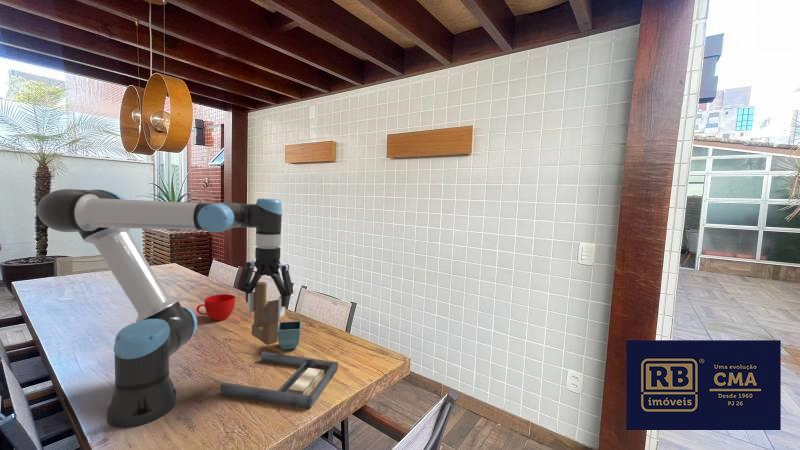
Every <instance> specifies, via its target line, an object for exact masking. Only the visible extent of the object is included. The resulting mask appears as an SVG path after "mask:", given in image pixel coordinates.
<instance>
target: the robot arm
mask: <svg viewBox="0 0 800 450" xmlns="http://www.w3.org/2000/svg"><path fill="white" fill-rule="evenodd" d="M282 208H283V207H282V201H281V200H280V199H279V198H278V199H277V198H276V199H275V198H262V197H261V198H257V199H256V202H255V203H251V204H250V203H239V202H237V203H236V202H230V201H229V202H217V203H210V202H209V203H208V202H206V203H205V202H204V203H203V202H190V201H189V202H187V201H186V202H185V201H164V200H163V201H162V200H141V199H139V200H138V199H137V200H136V199H125V198H124V197H123V196H122V195H120V194H118V193H115V192H113V191H109V190H103V189H72V188H65V189H62V188H61V189H57V190H54V191H51V192H49V193H47V194H45V195H44V196H43V197H42V198H41V199H40V200H39V202H38V204H37V207H36V210H37V211H36V213H37V216H38V218H39V220H40V221H41V222H42V224H43V225H45V226H46V227H47V228H49V229H52V230H54V231H57V232H63V233H77V232H78V234H79V235H80V236H81V239H82V240H83V241H84V243H85V242H86V243H89V244H93V245H94V246H95V248H96V249H97V251H98V253H99V254H100V255H101V257H102V259H103V260H104V262H105V263H106V265H107V267H108V268H109V270H110V271H111V274H112V275H113V276H114V278H115V279H116V281H117V282H118V284H119V286H120V287H121V289H122V290H123V292H124V294H125V295H126V297H127V298H128V300H129V301H130V303H131V305H132V306H133V308H134V309H135V311H136V312H137V317H136V319H135V322H132V323H130V324H128V325H126V326H124V327H122V328H121V329H120V330H119V331H118V333H117V334H116V336H115V338H114V346H113V352H114V386H115V387H114V391H113V394H112V396H111V401H110V404H109V405H108V407H107V409H106V422H107V424H108V425H110V426H111V427H114V428H130V427H136V426H141V425H144V424H147V423H149V422H152V421H155V420H157V419H159V418H161V417H162V416H164V415H166V414H168V413H169V412H170V411H171V410H172V409H173V408H174V407H175V405H176V404H177V397H178V396H177V395H178V394H177V390H176V388H175V387H174V386H175V385H174V383H173V381H172V379H171V377H170V357H171V356H172V355H174V353H176V352H177V351H178V350H179V349H180V348H181V347H183V346H184V345H185V344H186V343H187V344H188V342H189V341H190V340H191V338H192V337H193V336H194V334H195V333H196V331H197V327H198V319H197V316H196V314H195V313H194V311H193V310H192V309H190V308H189V307H185V306H182V305H181V303H180V302H179V300H177V299H175V298H171V297H169V295H168V294H167V292H166V290H165V289H164V287H163V285H162V283H161V281H160V280H159V278H158V277H157V275H156V274H155V272H154V270H153V269H152V267H151V265H150V264H149V262H148V261H147V259H146V258H145V255H144V254H143V252H142V251H141V249H140V248H139V246H138V244H137V243H136V241H135V239H134V237H133V236H132V234H131V232H130V229H140V230H141V229H146V230H147V229H148V230H149V229H151V230H180V231H181V230H184V231H185V230H187V231H190V230H191V231H207V232H208V233H222V232H225V231H227V230H233V229H235V228H249V229H250V228H251V229H254V228H255V243H254V244H255V248H254V249H255V250H254V253H255V254H254V258H255V261H254V260H251V261H246V263H245V271H244V275H243V278H242V282H241V285H240V288H239V289H240V291H241V292H245V303H247V314H248V315H249V314H252V313H254V303H255V284H256V283H258V282H260V280H261V278H262V276H267V277H270V278H271V279H272V281H273V282H274V284H275V286H276V289H277V291H278V292H279V295H280V296H279V297H278V300H279V306H278V318H282V317H283V316H285V314H286V313H285V311H286V307H287V305H288V297H289V296H292V295H293V294H294V293H295V292H294V288H293V284H292V280H291V275H290V272H289V271H290V265H289V264H288V263H287V264H281V261H280V260H281V248H280V247H281V242H282V241H281V240H282V219H283V218H282V215H283V211H282ZM255 268H256V271H255V273H254V270H255ZM279 269H280V270H279ZM280 272H281V274H280ZM253 273H254V276H253ZM252 276H253V277H252Z"/></svg>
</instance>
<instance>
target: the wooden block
mask: <svg viewBox="0 0 800 450" xmlns="http://www.w3.org/2000/svg"><path fill="white" fill-rule="evenodd" d="M267 286H268V285H267V282H265V281H258V283H256V284H255V288H254V292H255V303H254V312H253V324H251V336H253V337H254V338H256V339H257V340H259V341H260V342H262V343H263V344H265V345H266V346H270V345H272V344H276V343H278V325H279V317H278V306H279V299H275V300H270V301H268V302H267V288H268V287H267Z"/></svg>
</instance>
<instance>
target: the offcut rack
mask: <svg viewBox="0 0 800 450" xmlns="http://www.w3.org/2000/svg"><path fill="white" fill-rule="evenodd" d="M260 362H263V363H265V362H266V363H271V364H276V365H286V366H291V367H298V369H296V371H295V372H294V373H293V374H292V375H291V376H290V377H289V378H288V379H287V380H286V381H285V382H284V383H283V384H282V385H281V386H280V388H279V389H277V390H275V389H274V390H273V389H269V388H263V387H262V388H261V387H255V386H248V385H243V384H242V385H241V384H236V383H235V384H234V383H229V382H221V384H219V385H220V387H219V390H220V391H219V394H220V395H224V396H230V397H237V398H243V399H249V400H255V401H262V402H266V403H267V402H268V403H274V404H278V405H279V404H280V405H286V406H289V407H290V406H292V407H297V408H303V409H310V410H311V409H312V408H313V406H314V404H315V403H316V402H317V400H318V398H319V397H320V396H321V395H322V393H323V392H324V390H325V389H326V388H327V386H328V384H329V383H330V382H331V380H332V379H333V377H334V376H335V374H336V373H337V372H338V368H339V367H338V365H339V362H338V361H333V360H324V359H319V358H310V357H304V356H303V357H302V356H295V355H290V354H289V355H287V354H281V353H274V352H267V351H262V352H261V353H260ZM308 368H314V369H321V370H324V371H326V372H325V373H324V374H323V375H322V377H321V378H320V379H319V381H318V382H317V383H316V384H315V386H314V387H313V388H312V390H311V391H310V392H309V393H310V394H309V395H308V394H307V395H300V394H294V393H289V388H290V387H291V386H292V385H293V384H294V383H295V382H296V381H297V380H298V378H299V377H300V376H301V375H302V374H303V373H304V372H305V371H306V370H307V369H308Z"/></svg>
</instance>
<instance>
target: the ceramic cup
mask: <svg viewBox="0 0 800 450" xmlns="http://www.w3.org/2000/svg"><path fill="white" fill-rule="evenodd" d="M235 304H236V296H235V295H233V294H229V293H228V294H227V293H226V294H215V295H211V296H207V297H205V298H204V304H198V305H197V307H196V312H197V313H198V314H199V315H202V316H208V317H209V318H210V319H211V320H212V321H215V322H216V321H217V322H219V321H224V320H227V319H228V318H229V317H230V316H231V314H232V313H233V311H234V309H235V307H236V306H235ZM202 307H204V308H205V313H204V312H201V311H200V308H202Z"/></svg>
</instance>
